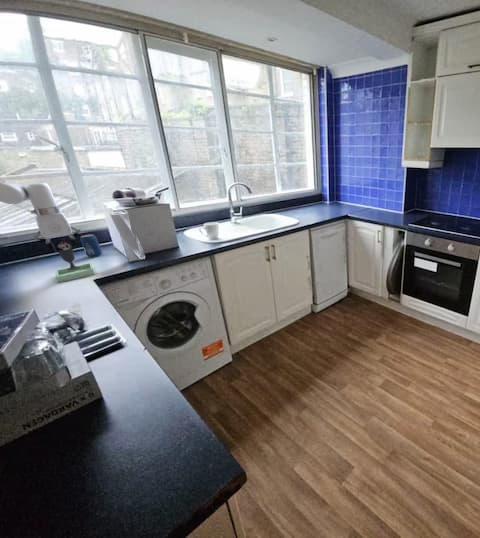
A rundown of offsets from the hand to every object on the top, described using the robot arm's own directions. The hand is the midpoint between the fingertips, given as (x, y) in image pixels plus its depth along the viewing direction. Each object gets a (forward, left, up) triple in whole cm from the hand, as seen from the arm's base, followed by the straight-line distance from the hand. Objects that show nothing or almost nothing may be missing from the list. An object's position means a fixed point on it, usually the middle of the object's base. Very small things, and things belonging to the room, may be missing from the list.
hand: (64, 248), depth 139 cm
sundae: (0, 0, -10) cm, 10 cm away
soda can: (+9, +30, -14) cm, 34 cm away
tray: (0, 0, -13) cm, 13 cm away
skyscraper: (+25, +3, -14) cm, 29 cm away
